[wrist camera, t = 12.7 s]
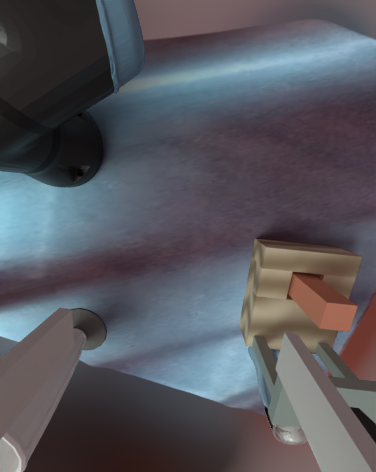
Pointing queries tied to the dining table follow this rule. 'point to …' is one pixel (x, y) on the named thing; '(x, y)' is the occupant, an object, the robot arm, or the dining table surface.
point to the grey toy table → (346, 382)
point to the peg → (322, 302)
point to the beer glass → (280, 432)
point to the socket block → (277, 284)
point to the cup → (48, 395)
